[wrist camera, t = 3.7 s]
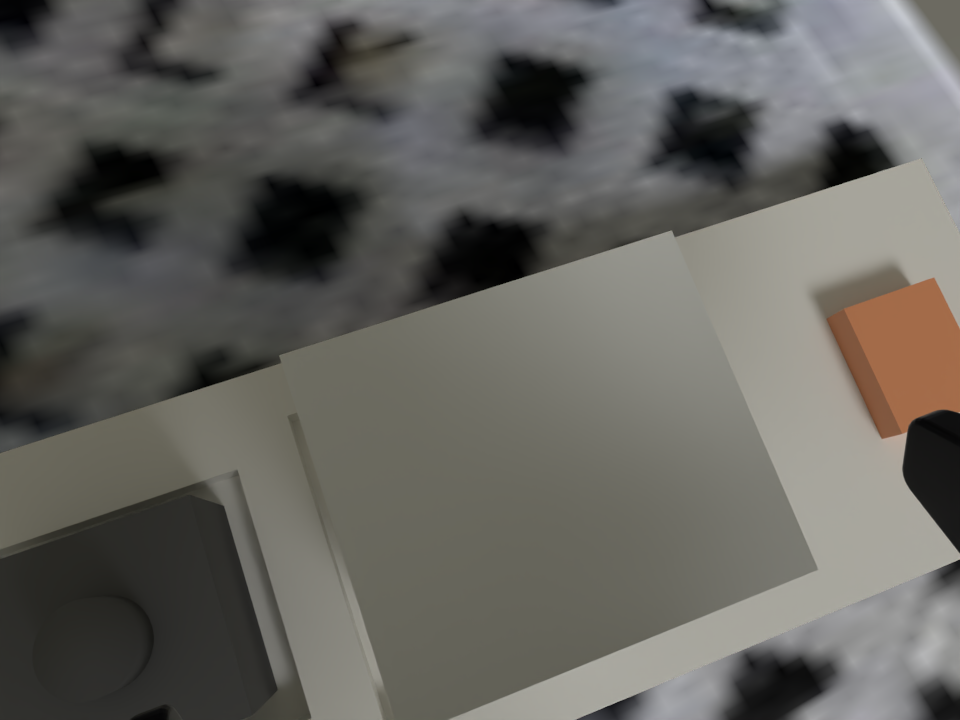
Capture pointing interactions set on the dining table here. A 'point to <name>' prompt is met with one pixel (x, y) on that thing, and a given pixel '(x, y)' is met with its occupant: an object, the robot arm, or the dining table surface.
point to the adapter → (541, 476)
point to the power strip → (760, 375)
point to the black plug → (133, 622)
